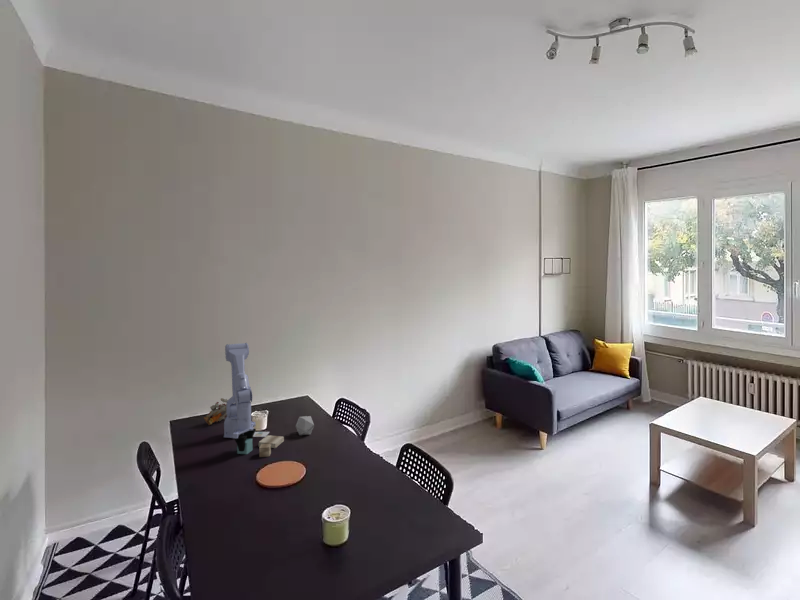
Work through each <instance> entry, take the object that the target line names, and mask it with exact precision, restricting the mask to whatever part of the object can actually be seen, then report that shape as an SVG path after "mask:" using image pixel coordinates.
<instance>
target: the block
mask: <svg viewBox="0 0 800 600" xmlns="http://www.w3.org/2000/svg"><path fill="white" fill-rule="evenodd" d="M258 454H259V458H266V457H267V458H268V457H270V456H271V454H272V448H271V443H270V444H261V445H260V447H259V453H258Z"/></svg>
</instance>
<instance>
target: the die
mask: <svg viewBox="0 0 800 600" xmlns="http://www.w3.org/2000/svg"><path fill="white" fill-rule="evenodd" d="M314 427H315V424H314V421H313V418H312V416H311V415H309V416H307V415H305V416H298V419H297V422H296V424H295V428H296V430H297V433H298V436H308V435H312V432H313V430H314Z"/></svg>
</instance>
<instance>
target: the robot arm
mask: <svg viewBox="0 0 800 600" xmlns="http://www.w3.org/2000/svg"><path fill="white" fill-rule="evenodd" d="M224 347H225V348H224V351H225V352H224V353H225V361H226V362H229V363H230V366H231V388H232V391H231V392H232V396H231V397H230V398H229V399H227V400H228V401H227V403H226V404H227V406H226V412H227V415H226V417H225V419H224V423H223V429H224V434H223V438H226V439H227V438H228V439H233V440H234V441H235V443H236V447H237V446H238V449H239V451H244V450H245V441H246V438H249V439H252V440H253V438H254V437H253V435H254V433H255V432H257V431H256V428H255V427H256V421H252V402H253V391H252V388H251V386H250V381H249V376H248V374H246V372H245V366H246V365H245V363H246V362H245V360H248V359H247V358H248V357H249V355H250V347H249V344H248V343H247V342H243V343H232V344H230V343H229V344H228V343H227V344H225V346H224ZM232 403H233V404H232ZM226 412H225V413H226Z"/></svg>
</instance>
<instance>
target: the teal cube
mask: <svg viewBox="0 0 800 600" xmlns="http://www.w3.org/2000/svg"><path fill="white" fill-rule="evenodd" d="M253 448H254V446H253V438H252V439H249V438H246V441H245V450H244V451H239V449H238V446H237V445H236V454H237V455H239V454H240V455H248V454H250V452H252V451H254V449H253Z"/></svg>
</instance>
